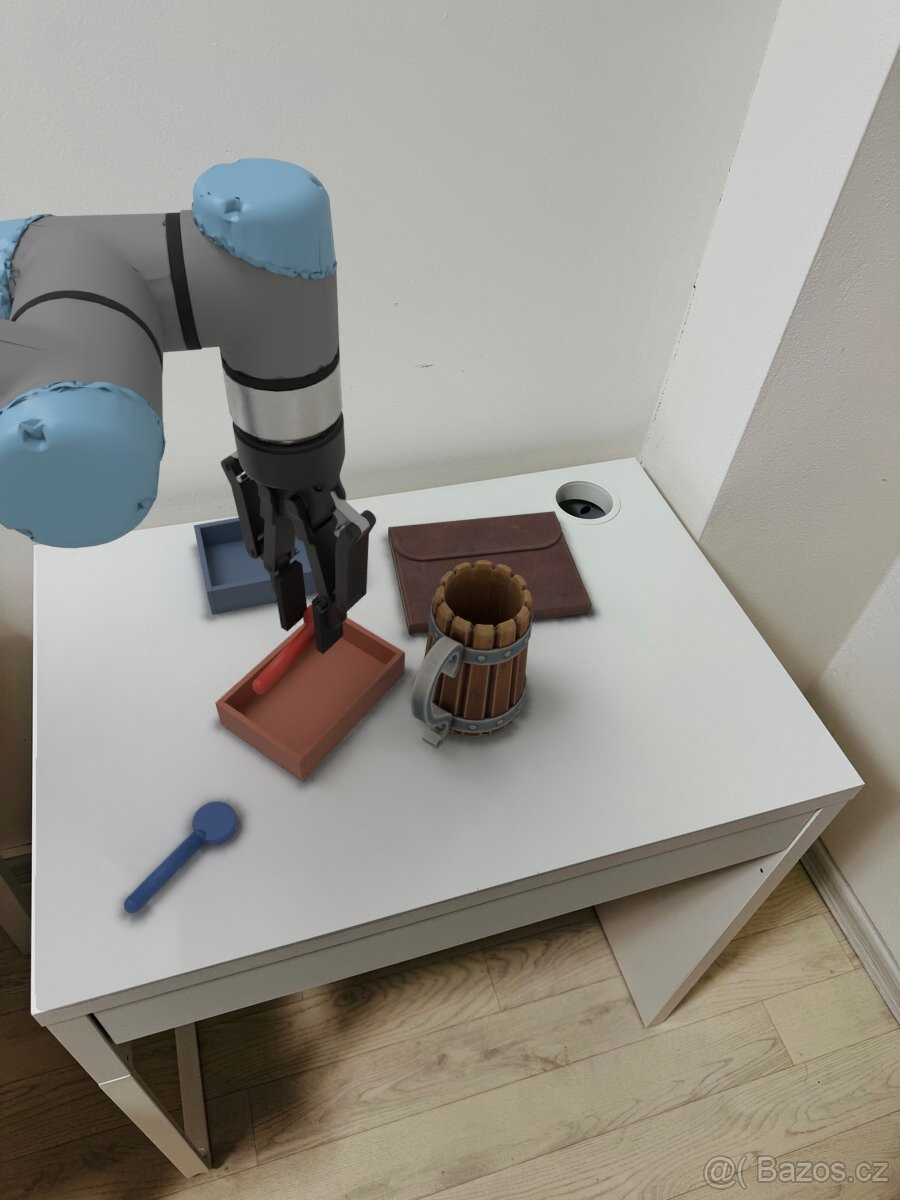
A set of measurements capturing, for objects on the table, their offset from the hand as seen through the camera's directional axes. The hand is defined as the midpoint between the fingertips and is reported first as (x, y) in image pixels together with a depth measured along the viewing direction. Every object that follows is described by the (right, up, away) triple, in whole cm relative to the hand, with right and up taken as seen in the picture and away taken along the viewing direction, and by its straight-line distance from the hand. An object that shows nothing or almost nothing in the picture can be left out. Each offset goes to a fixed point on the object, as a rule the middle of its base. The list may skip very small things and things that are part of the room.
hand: (312, 631), depth 74 cm
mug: (+13, -8, +7) cm, 17 cm away
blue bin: (-7, +6, +18) cm, 21 cm away
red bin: (-1, -7, +7) cm, 10 cm away
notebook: (+16, +5, +19) cm, 26 cm away
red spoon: (-1, -2, -1) cm, 2 cm away
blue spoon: (-10, -19, -5) cm, 22 cm away
